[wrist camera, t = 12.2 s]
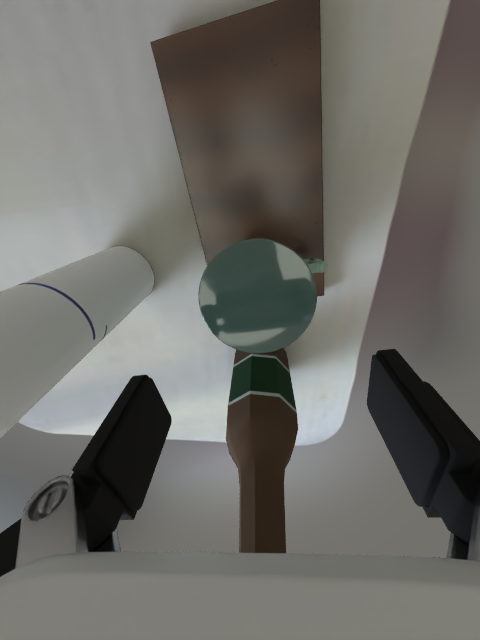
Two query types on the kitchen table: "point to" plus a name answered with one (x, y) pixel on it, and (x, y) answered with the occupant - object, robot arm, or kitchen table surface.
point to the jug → (259, 294)
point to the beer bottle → (261, 445)
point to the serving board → (250, 125)
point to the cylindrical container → (63, 322)
